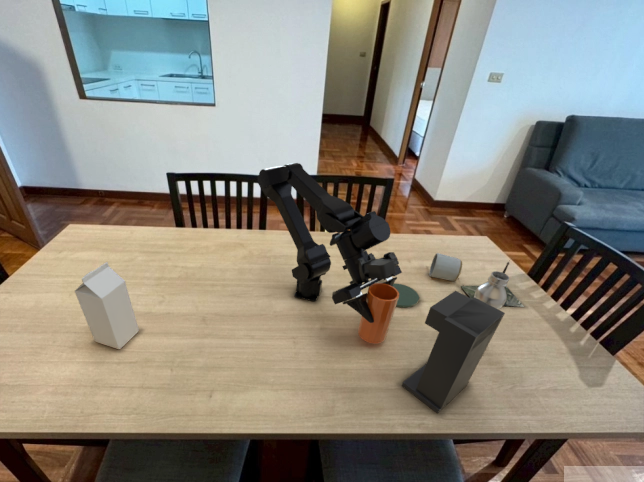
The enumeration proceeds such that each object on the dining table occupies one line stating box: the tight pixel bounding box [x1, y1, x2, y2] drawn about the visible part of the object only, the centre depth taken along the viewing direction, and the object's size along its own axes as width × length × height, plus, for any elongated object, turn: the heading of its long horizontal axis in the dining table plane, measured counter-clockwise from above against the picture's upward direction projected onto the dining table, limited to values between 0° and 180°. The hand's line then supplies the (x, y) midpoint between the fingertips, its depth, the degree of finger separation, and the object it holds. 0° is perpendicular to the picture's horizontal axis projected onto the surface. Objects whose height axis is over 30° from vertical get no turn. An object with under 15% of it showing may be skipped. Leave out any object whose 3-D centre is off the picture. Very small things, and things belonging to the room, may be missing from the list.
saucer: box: [393, 283, 420, 309], centre depth 104 cm, size 11×11×1 cm
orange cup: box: [357, 283, 399, 344], centre depth 84 cm, size 7×7×13 cm
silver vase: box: [460, 259, 525, 308], centre depth 102 cm, size 15×10×13 cm
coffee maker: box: [401, 290, 506, 414], centre depth 72 cm, size 10×12×21 cm
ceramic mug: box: [428, 252, 463, 282], centre depth 113 cm, size 11×8×8 cm
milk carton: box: [74, 261, 140, 350], centre depth 80 cm, size 7×7×19 cm
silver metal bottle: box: [474, 270, 510, 311], centre depth 84 cm, size 6×7×20 cm
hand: (382, 316), depth 83 cm, fingers closed on orange cup, 7 cm apart
